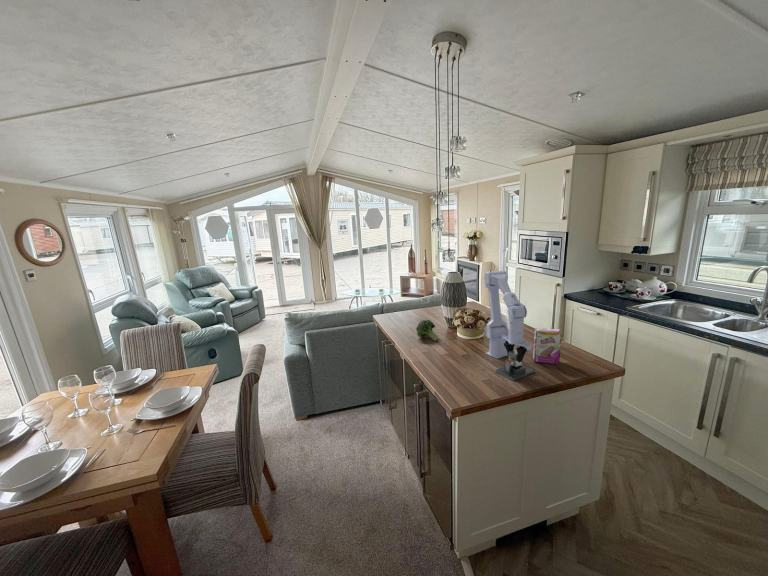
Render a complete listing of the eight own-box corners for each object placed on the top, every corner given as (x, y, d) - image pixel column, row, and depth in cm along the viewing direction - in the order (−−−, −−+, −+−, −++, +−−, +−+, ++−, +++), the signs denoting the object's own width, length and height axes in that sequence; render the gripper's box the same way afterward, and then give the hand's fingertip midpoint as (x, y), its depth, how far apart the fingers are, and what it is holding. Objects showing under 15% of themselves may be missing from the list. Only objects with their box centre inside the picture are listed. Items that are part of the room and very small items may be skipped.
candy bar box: (534, 362, 152) (535, 330, 149) (532, 358, 157) (534, 327, 153) (559, 364, 148) (562, 332, 145) (557, 360, 153) (560, 328, 150)
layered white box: (514, 361, 146) (514, 349, 144) (521, 364, 142) (522, 352, 141) (507, 364, 144) (508, 351, 142) (514, 367, 140) (515, 354, 139)
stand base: (516, 364, 151) (516, 350, 150) (534, 372, 143) (535, 358, 141) (495, 372, 145) (495, 357, 144) (513, 381, 136) (513, 366, 135)
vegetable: (426, 341, 180) (410, 325, 189) (431, 349, 190) (415, 334, 199) (441, 327, 181) (424, 312, 190) (445, 336, 192) (428, 321, 200)
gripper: (497, 328, 144) (496, 356, 147) (524, 338, 132) (523, 367, 135) (507, 325, 147) (507, 352, 150) (535, 334, 135) (533, 363, 138)
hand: (515, 359), depth 143 cm, fingers open, 5 cm apart
